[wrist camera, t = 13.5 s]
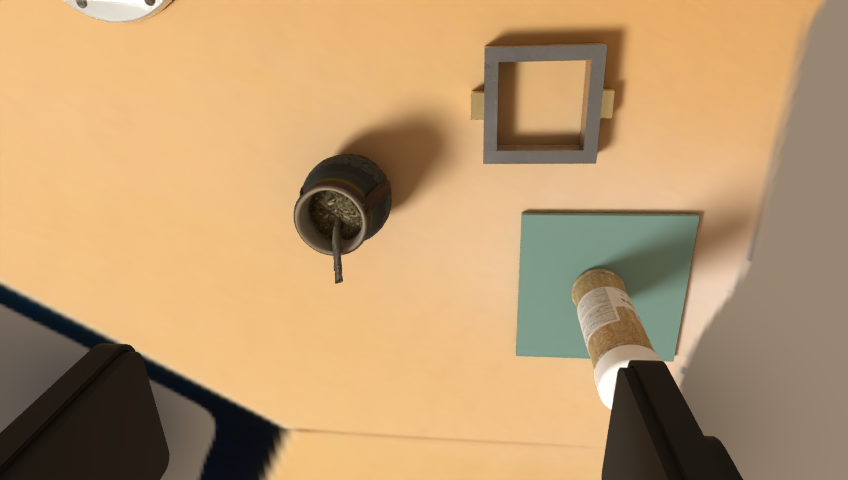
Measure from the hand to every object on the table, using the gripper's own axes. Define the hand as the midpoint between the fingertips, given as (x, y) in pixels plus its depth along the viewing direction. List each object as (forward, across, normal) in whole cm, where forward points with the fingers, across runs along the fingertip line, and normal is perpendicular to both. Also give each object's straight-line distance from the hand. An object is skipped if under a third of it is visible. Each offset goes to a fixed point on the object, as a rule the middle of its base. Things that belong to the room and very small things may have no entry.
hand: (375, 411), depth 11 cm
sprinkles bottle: (+34, -13, +16) cm, 40 cm away
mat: (+34, -13, +16) cm, 40 cm away
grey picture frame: (+35, -7, 0) cm, 35 cm away
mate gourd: (+35, +8, +7) cm, 37 cm away
